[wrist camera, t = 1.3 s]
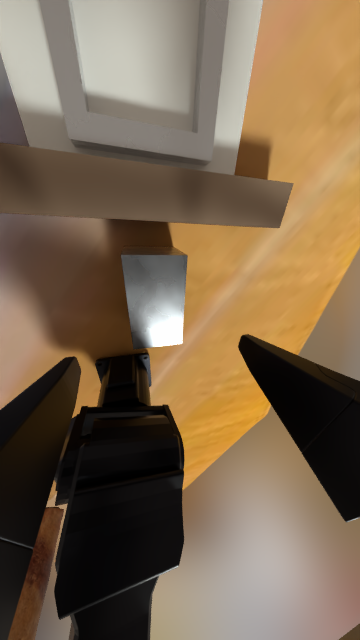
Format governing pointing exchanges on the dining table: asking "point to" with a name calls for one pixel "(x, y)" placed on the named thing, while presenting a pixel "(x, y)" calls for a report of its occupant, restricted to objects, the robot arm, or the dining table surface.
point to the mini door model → (133, 77)
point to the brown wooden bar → (133, 190)
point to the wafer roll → (37, 577)
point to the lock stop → (155, 294)
